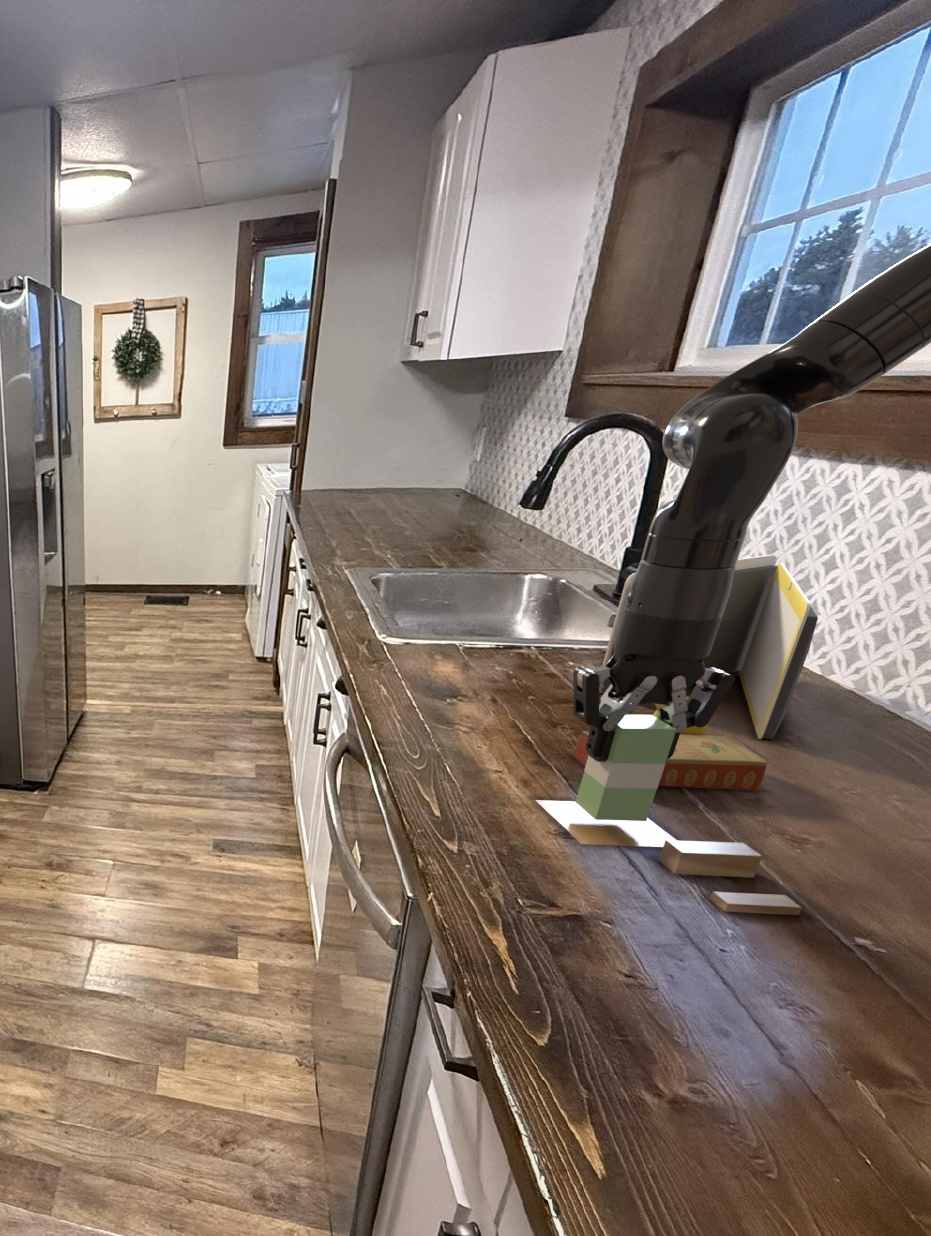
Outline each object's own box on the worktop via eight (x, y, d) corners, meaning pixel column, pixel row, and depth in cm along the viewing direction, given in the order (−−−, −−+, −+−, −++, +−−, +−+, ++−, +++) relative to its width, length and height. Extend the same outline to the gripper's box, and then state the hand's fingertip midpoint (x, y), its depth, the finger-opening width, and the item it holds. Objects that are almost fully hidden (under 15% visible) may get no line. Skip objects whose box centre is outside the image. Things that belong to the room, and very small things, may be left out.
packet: (560, 739, 91) (616, 704, 82) (608, 739, 91) (669, 704, 81) (580, 825, 88) (640, 799, 78) (630, 827, 87) (697, 801, 77)
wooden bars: (657, 863, 80) (665, 839, 79) (734, 866, 79) (743, 842, 78) (717, 914, 72) (727, 888, 71) (804, 918, 71) (815, 892, 70)
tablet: (797, 748, 102) (855, 604, 95) (591, 716, 115) (629, 587, 107) (760, 673, 128) (803, 555, 120) (595, 654, 140) (625, 546, 133)
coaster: (627, 805, 91) (628, 802, 91) (686, 851, 82) (687, 848, 81) (534, 802, 92) (534, 799, 92) (581, 847, 83) (582, 844, 83)
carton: (758, 793, 92) (771, 761, 90) (604, 786, 95) (614, 755, 94) (712, 763, 99) (723, 732, 98) (571, 757, 103) (579, 728, 101)
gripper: (615, 617, 75) (572, 773, 82) (785, 616, 73) (726, 777, 79) (572, 599, 82) (535, 744, 88) (726, 597, 80) (677, 746, 86)
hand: (626, 758), depth 84 cm, fingers closed on packet, 5 cm apart
